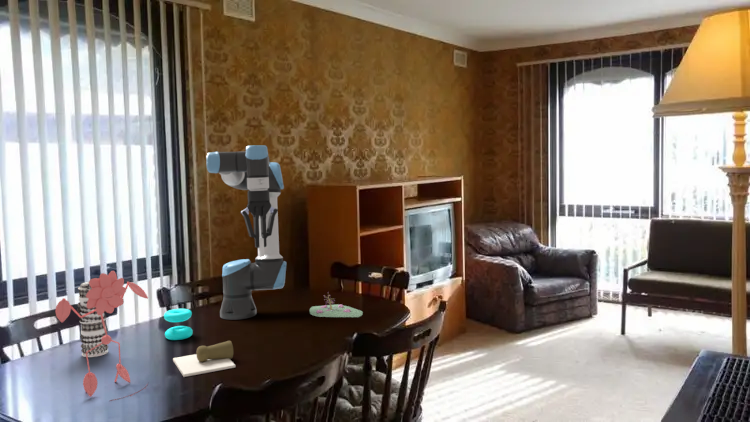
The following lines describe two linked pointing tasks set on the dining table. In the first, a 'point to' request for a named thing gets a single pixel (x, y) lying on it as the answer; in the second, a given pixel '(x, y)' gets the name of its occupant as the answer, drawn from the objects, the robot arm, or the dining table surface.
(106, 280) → the figurine
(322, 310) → the plant
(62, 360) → the dining table surface
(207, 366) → the felt mat
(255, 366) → the dining table surface
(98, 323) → the decorative candle
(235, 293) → the robot arm
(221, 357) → the cork
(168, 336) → the donuts
